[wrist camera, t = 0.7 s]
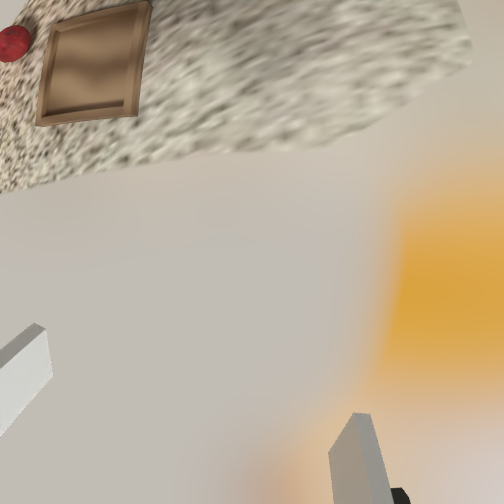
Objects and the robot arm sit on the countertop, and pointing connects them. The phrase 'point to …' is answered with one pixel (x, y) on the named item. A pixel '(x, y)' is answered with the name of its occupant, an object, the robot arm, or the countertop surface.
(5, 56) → the red fruit
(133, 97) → the tray
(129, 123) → the countertop surface
